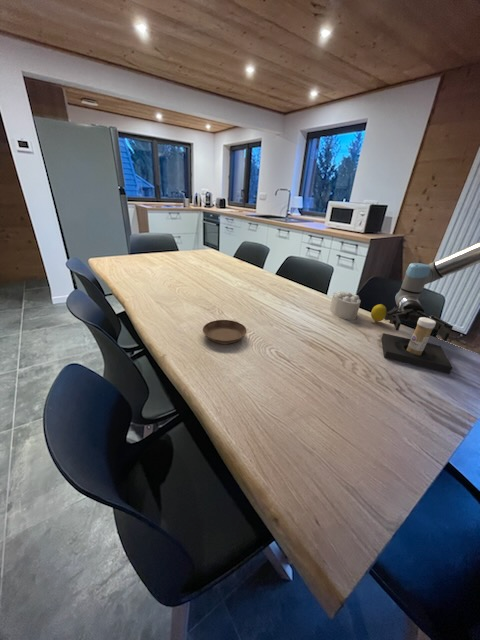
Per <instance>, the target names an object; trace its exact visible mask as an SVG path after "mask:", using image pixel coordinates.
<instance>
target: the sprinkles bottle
mask: <svg viewBox="0 0 480 640" xmlns="http://www.w3.org/2000/svg"><path fill="white" fill-rule="evenodd" d="M435 324H436V322H435V321H434V320H432V319H429V318H425V317H421V318H419V320H418V322H416V327H415V329H414V331H413V333H412V336H411V338H410V339H411V340H410V342H409V345H408V348H407V351H409V352H410V353H413V354H416V355H421V354H422V352H423V350H424V348H425V346H426V344H427V343H428V342H429V339H430V336H431V334H432V332H433V330H434V327H435Z"/></svg>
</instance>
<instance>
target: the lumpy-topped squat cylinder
mask: <svg viewBox="0 0 480 640" xmlns="http://www.w3.org/2000/svg"><path fill="white" fill-rule="evenodd" d="M361 301H362V300H361V299H360V296H359V295H358V294H353V293H351V292H350V291H338V292H334V293H332V298H331V301H330V306H329V310H330V312H331V313H332V314H333V315H334V316H336V317H338V318H341V319H345V320H349V321H351V320H355V319H356V318H357V315H358V313H359V309H360V305H361V303H362V302H361Z"/></svg>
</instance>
